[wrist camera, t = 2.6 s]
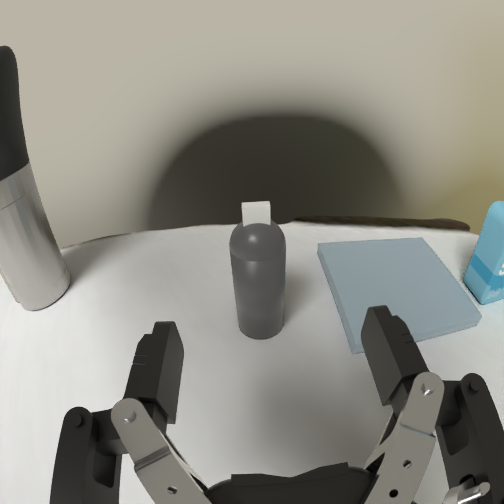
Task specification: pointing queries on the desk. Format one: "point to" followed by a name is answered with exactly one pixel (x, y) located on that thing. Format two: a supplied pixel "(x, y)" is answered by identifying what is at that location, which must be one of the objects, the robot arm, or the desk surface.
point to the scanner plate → (395, 287)
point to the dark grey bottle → (258, 271)
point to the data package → (488, 258)
